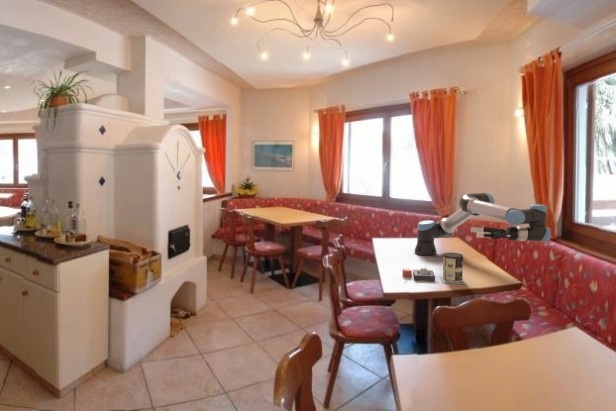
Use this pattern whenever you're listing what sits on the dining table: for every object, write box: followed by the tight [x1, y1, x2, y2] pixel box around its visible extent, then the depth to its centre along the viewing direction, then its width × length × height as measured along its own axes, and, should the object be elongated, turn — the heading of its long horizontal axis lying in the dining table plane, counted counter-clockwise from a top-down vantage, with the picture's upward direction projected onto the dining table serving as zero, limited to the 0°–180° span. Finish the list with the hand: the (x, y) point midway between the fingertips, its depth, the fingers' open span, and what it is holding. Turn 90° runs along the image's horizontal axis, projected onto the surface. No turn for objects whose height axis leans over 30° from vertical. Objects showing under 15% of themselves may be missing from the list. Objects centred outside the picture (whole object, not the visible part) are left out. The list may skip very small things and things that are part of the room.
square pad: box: [438, 275, 467, 285], centre depth 196 cm, size 12×12×1 cm
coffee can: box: [442, 252, 464, 282], centre depth 195 cm, size 10×10×14 cm
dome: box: [419, 267, 429, 275], centre depth 201 cm, size 5×5×5 cm
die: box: [402, 268, 413, 279], centre depth 205 cm, size 4×4×4 cm
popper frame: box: [412, 269, 436, 282], centre depth 201 cm, size 11×11×3 cm
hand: (473, 232), depth 195 cm, fingers open, 13 cm apart
